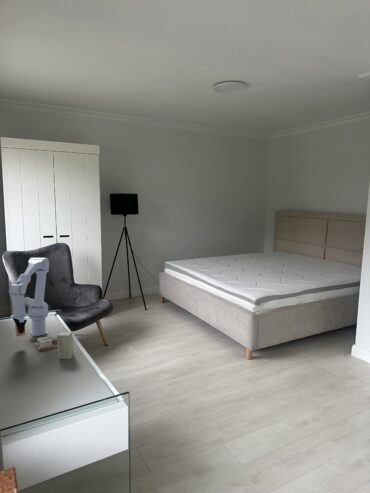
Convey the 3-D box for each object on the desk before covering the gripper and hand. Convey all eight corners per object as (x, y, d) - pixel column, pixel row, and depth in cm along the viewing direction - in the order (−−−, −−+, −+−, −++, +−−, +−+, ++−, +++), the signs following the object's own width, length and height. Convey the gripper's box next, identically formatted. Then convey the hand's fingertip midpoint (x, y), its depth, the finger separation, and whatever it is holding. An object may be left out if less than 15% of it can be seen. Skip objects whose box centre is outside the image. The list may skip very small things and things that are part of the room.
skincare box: (74, 355, 170) (73, 331, 168) (70, 359, 165) (69, 335, 164) (62, 354, 170) (60, 331, 169) (57, 358, 166) (56, 334, 164)
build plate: (35, 344, 182) (34, 337, 181) (56, 340, 188) (56, 333, 188) (39, 351, 174) (38, 344, 173) (61, 346, 180) (61, 339, 180)
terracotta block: (15, 334, 179) (15, 325, 178) (24, 332, 181) (23, 323, 180) (17, 336, 176) (16, 327, 175) (25, 334, 178) (24, 325, 177)
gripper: (8, 304, 180) (9, 329, 182) (12, 311, 168) (14, 338, 170) (22, 302, 184) (24, 326, 186) (27, 309, 172) (29, 334, 174)
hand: (20, 331), depth 178 cm, fingers closed on terracotta block, 4 cm apart
